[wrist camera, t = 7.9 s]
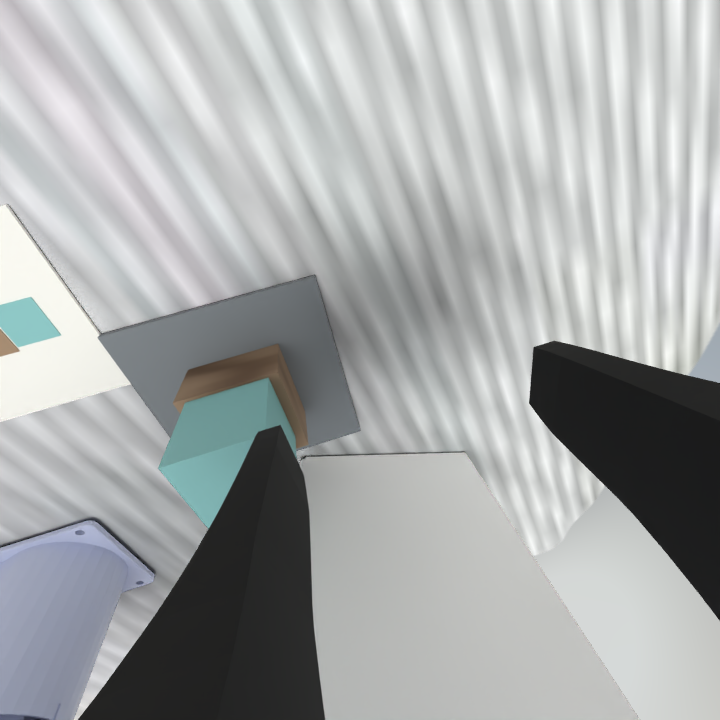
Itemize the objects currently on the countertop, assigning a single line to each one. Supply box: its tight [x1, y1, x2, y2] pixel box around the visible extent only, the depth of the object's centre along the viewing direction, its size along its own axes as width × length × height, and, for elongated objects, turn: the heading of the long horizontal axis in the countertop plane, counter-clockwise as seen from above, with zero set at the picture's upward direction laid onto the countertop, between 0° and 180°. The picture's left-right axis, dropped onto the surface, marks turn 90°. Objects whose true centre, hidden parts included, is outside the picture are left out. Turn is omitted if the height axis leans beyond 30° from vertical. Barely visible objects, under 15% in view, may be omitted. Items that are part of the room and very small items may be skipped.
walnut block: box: [173, 344, 308, 449], centre depth 18 cm, size 5×5×3 cm
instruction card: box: [0, 205, 131, 422], centre depth 15 cm, size 7×9×1 cm
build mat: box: [97, 275, 360, 451], centre depth 19 cm, size 11×11×1 cm
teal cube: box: [158, 378, 297, 529], centre depth 15 cm, size 4×4×4 cm
